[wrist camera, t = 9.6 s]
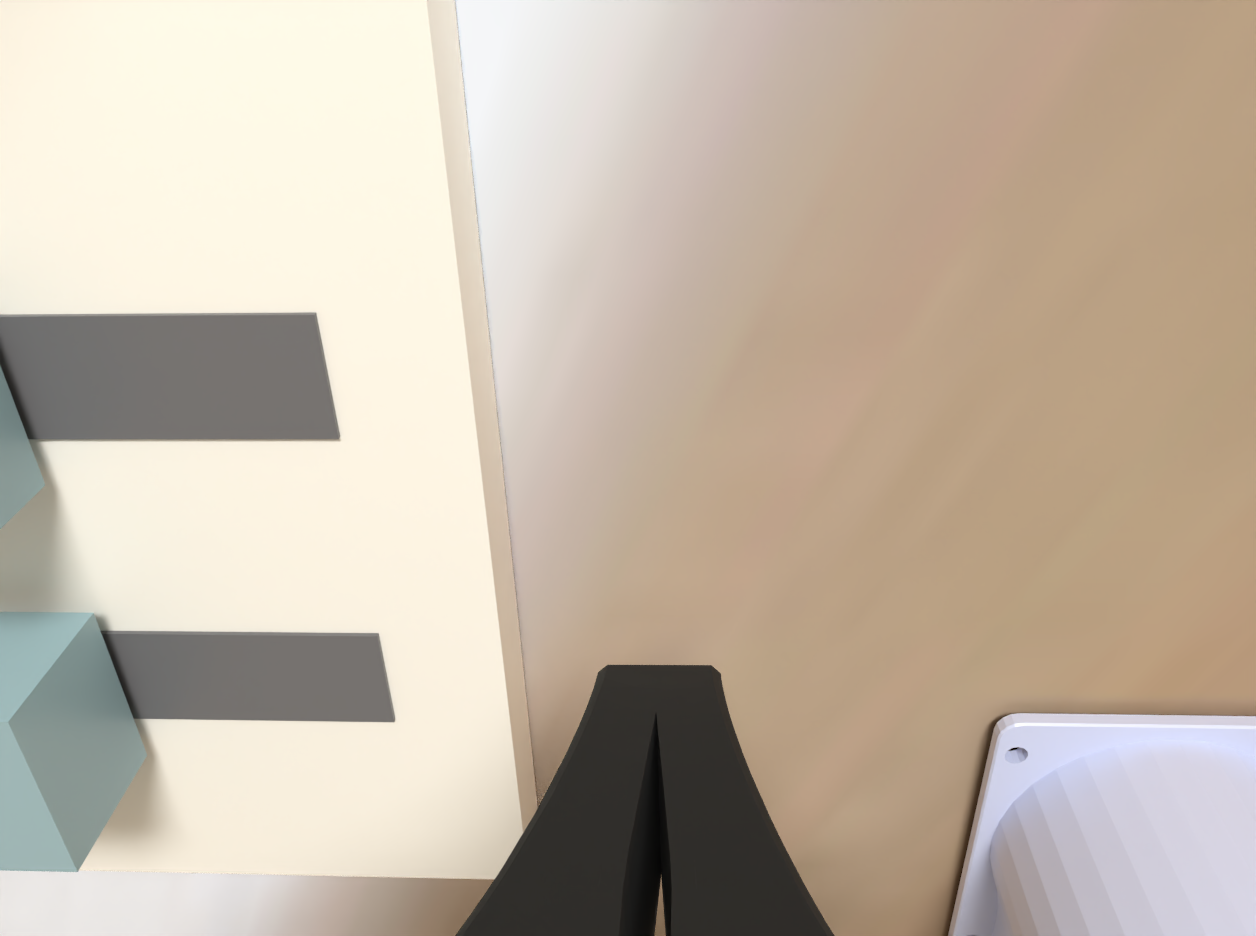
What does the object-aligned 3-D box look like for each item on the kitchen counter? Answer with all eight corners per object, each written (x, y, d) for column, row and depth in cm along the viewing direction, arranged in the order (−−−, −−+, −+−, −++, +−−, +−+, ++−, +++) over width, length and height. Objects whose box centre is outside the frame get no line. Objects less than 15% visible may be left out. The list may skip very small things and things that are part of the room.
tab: (147, 755, 22) (77, 871, 20) (15, 753, 22) (-71, 868, 20) (93, 612, 20) (8, 722, 18) (-52, 611, 20) (-157, 719, 18)
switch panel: (538, 813, 26) (528, 883, 24) (15, 804, 27) (-32, 871, 25) (449, -52, 16) (420, -41, 14) (-392, -31, 17) (-522, -18, 15)
